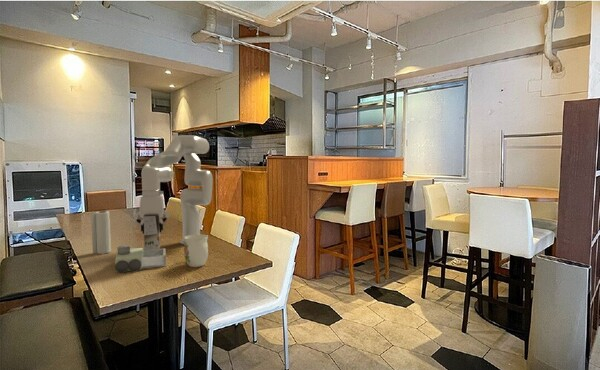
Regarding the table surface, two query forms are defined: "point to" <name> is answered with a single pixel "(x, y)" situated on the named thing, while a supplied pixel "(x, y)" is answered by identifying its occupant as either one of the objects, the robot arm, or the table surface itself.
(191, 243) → the pitcher
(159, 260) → the grey open drawer
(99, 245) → the grey tall block
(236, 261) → the table surface
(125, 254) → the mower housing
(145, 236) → the coffee box
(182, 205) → the robot arm
